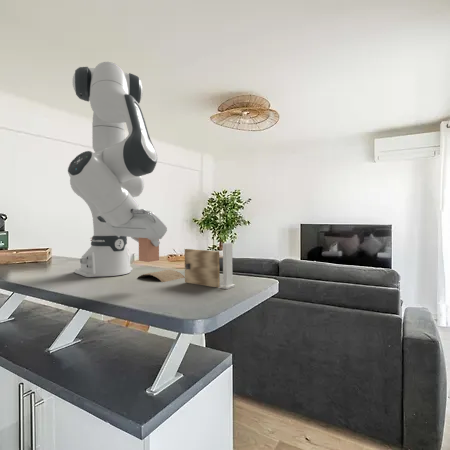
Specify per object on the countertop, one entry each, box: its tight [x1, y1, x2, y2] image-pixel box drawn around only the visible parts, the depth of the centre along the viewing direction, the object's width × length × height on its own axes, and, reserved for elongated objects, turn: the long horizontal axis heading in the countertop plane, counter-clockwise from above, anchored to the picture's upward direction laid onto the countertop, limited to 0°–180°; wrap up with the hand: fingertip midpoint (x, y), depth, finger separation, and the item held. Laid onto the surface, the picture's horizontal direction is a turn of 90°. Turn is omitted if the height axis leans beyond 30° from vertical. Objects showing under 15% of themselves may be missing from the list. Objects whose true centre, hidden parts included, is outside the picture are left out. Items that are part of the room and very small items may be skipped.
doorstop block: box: [138, 238, 160, 263], centre depth 89 cm, size 4×4×8 cm
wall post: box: [220, 242, 236, 290], centre depth 91 cm, size 2×4×13 cm, turn 143°
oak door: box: [184, 248, 221, 288], centre depth 94 cm, size 13×2×10 cm, turn 53°
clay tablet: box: [137, 269, 185, 283], centre depth 107 cm, size 14×10×3 cm
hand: (150, 244), depth 90 cm, fingers closed on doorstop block, 4 cm apart
